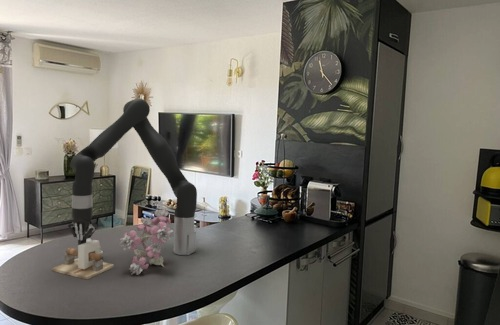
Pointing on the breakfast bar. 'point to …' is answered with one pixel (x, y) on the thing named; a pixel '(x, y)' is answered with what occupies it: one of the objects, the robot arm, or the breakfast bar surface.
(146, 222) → the flower
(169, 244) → the breakfast bar surface
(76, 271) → the pipe rig
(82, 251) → the collar
